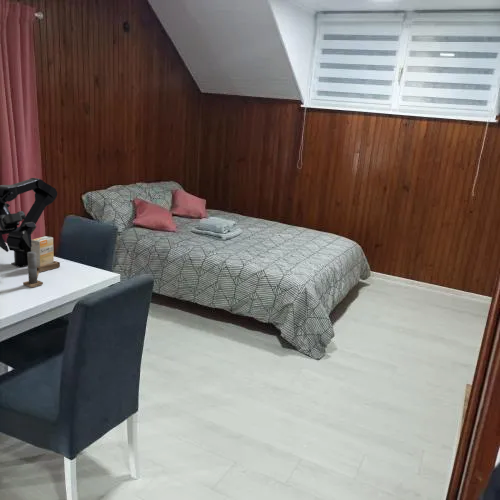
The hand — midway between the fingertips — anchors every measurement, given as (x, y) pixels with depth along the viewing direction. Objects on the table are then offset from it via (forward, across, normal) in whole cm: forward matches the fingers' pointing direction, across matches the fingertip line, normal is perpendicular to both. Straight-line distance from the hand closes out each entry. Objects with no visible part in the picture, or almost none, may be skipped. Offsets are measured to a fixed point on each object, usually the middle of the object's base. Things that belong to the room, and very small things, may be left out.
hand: (19, 249), depth 184 cm
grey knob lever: (+10, +8, +7) cm, 15 cm away
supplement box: (+4, +14, +14) cm, 20 cm away
